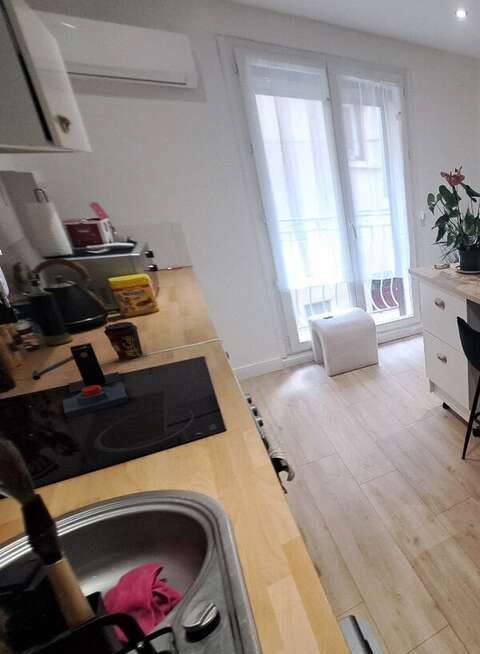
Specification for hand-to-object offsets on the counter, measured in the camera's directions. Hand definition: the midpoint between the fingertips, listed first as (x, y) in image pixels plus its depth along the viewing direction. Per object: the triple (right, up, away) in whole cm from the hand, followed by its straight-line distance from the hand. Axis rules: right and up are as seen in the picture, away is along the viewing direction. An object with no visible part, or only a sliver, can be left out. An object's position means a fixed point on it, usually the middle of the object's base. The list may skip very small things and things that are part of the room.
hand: (9, 322), depth 104 cm
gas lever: (-4, -12, +16) cm, 21 cm away
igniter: (+11, -23, +11) cm, 28 cm away
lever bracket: (-1, -19, +22) cm, 29 cm away
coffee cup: (-8, -12, +40) cm, 43 cm away
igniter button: (+11, -19, +10) cm, 24 cm away
